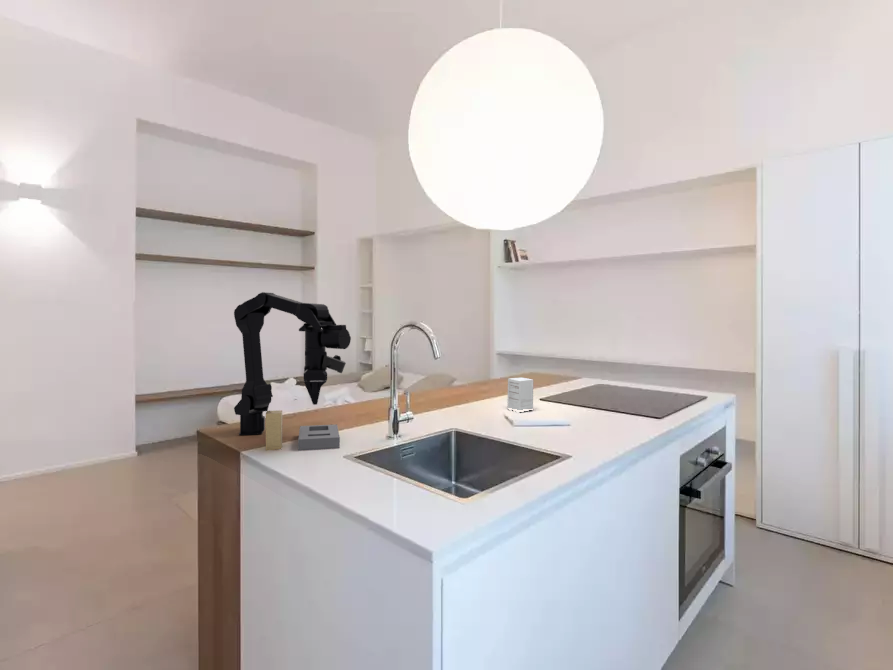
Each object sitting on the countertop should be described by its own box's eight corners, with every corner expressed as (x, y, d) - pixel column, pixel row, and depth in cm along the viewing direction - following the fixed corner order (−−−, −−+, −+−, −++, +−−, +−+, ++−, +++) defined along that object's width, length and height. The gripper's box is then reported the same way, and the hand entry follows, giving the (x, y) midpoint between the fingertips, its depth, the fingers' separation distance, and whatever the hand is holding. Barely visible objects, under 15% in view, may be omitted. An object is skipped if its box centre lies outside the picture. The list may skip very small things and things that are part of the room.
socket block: (298, 450, 132) (298, 439, 132) (299, 435, 147) (299, 426, 147) (339, 448, 135) (339, 437, 134) (337, 433, 150) (337, 424, 150)
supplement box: (520, 408, 196) (521, 377, 196) (533, 411, 190) (534, 379, 189) (506, 409, 192) (507, 378, 192) (519, 413, 186) (519, 380, 185)
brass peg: (265, 450, 131) (265, 413, 131) (267, 446, 135) (267, 410, 135) (281, 449, 132) (281, 413, 132) (282, 445, 136) (282, 410, 136)
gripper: (346, 350, 132) (345, 406, 133) (341, 345, 150) (341, 395, 151) (303, 350, 129) (303, 408, 130) (304, 345, 147) (304, 396, 148)
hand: (314, 401), depth 140 cm, fingers open, 9 cm apart
